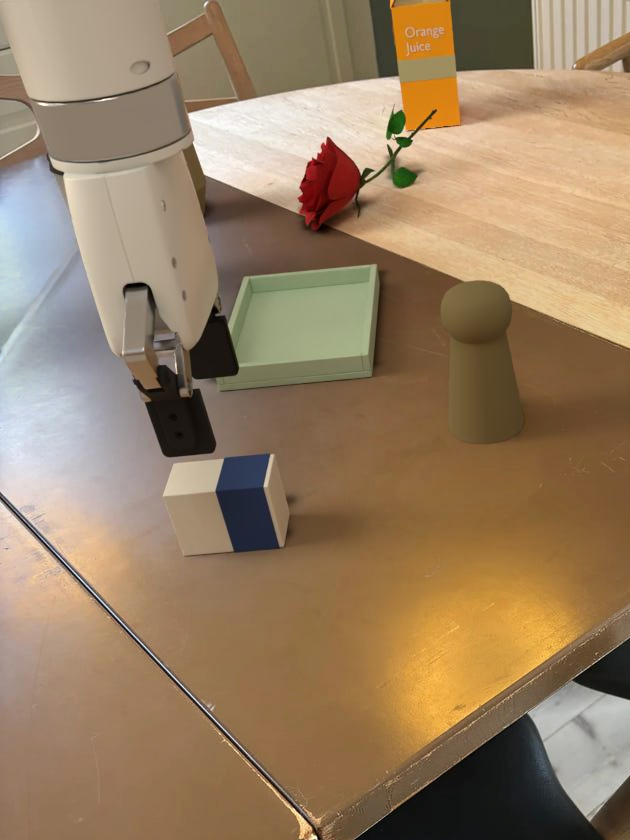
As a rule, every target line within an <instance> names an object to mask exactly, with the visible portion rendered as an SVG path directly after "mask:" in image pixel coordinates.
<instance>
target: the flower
mask: <svg viewBox="0 0 630 840" xmlns="http://www.w3.org/2000/svg"><path fill="white" fill-rule="evenodd" d="M395 105H396V103H393V107H392V109H391V112H390V116H389V119H388V123H387V128H386V132H385V139H386V140H387V141H390V140H393V141H396V144H397V145H399V146H397V148H396V149H395V150H394V151H393V148H392V147H391V146H390V144H389V143H387V144H386V147H387V152H388V155H389V160H388V161H387V163H386V164H385V165H384V166H383V167H382V168H380V170H379V171H377V172H376V170H375V169H373V168H370V167H364V169H363V171H362V173H361V171H360V169H359V167H358V166H357V163H356V162H355V161H354V159H352V158H351V157H350V155H348V154H347V153H346V152H345V151H344V150H342V148H340V147H339V146H338V145H337V144H336V143H335V141H333V140H332V138H331V137H330V136H326V139H325V142H322V143H320V150H321V151H320V152H317V154H316V158H314V157H313V156H312V157H311V160H309V161H308V162H307V164H306V166H305V171H304V175H303V178H302V180H301V182H300V185H299V187H298V189H299V190H300V192H301V193H302V194H301V195H299V196H297V197H296V199H297V200H298V203H301V204H302V205H301V208H300V209H299V211H298V214H299V215H305V224H306V227H308V226H309V225H310V224H311V222H312V224H311V226H310V227H311V230H313V231H317V230H318V229H319V228H320V227H321V226H322V224H323V223H324V222H325V221H326V220H328V219H330V218H332V217H333V216H334V215H336V214H338V213H339V212H340V211H341V210H343V209H344V208H345V207H346V206H348V204H349V203H350V202H351V201H352V200H353V198H354V202H355V206H356V207H357V210H358V211H357V218H359V216H360V214H361V209H362V205H361V204H360V202H359V199H358V198H359V195H360V190H361V189H362V188H364V186H365V185H366V184H368V183H370V182H372V181H374V180H375V179H376V178H377V177H379V176H380V175H382V173H384V171H386V170H387V168H388V167H389V166H390V169H391V170H390V172H391V177H392V179H391V180H392V184H393V185H394V186H395V187H397V188H399V189H401V188H400V187H402V188H405V187H404V186H407V187H409V186H408V185H410V186H412V185H413V184H414V183H415V181H416V180H417V178H418V177H419V175H418V174H417V173H415V172H413V171H412V170H410V169H408V168H407V167H404V166H400V167H398V168H397V169H396V170H395V167H396V166H395V163H396V158H397V156H398V154H400V152H401V150H402V149H406V148H409V147H411V145H412V144H413V142H414V139H413V138H414V136H416V135H417V134H418V132H419V131H421V130H420V129H421V128H422V127H423V125H424V124H425V123H426V122H427V121H428V120H429V119H432V118H431V117H432V116H433V115H434V114H435V113H436V112H437V109H435V110H434V111H433V110H432V112H431V114H430V115H429V116H428V117H427V118H426V119H425V120H424V121H423V122H422V123H421V124H420V125H419V127H418V128H417V129H416V130H414V131H412V132H411V134H410V135H409V136H408V137H406V136H398V135H401V134H402V133H403V131H404V129H405V123H406V117H405V114H404V111H403V108H401V109H400V110H398V111H396V112H395V113H394V111H395ZM396 135H397V136H396ZM392 136H393V137H394V138H393V137H392ZM375 172H376V173H375ZM372 173H375V174H373V175H372V176H371V177H370V178H368V179H366V178H367V177H368V176H369V175H370V174H372ZM411 184H412V185H411Z"/></svg>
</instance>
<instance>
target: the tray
mask: <svg viewBox="0 0 630 840" xmlns="http://www.w3.org/2000/svg"><path fill="white" fill-rule="evenodd" d="M380 287H381V283H380V276H379V269H378V264H377V263H373V264H363V265H352V266H342V267H331V268H321V269H311V270H302V271H301V270H300V271H290V272H281V273H280V272H279V273H270V274H260V275H247V276H243V279H242V281H241V284H240V287H239V291H238V294H237V297H236V299H235V302H234V306H233V309H232V312H231V315H230V318H229V321H228V327H229V331H230V334H231V338H232V342H233V345H234V349H235V353H236V356H237V360H238V364H239V371H238V374H237V375H236V376H229V377H219V378H215V380H216V384H217V387H218V390H219V392H224V391H225V392H226V391H236V390H246V389H257V388H269V387H280V386H288V385H300V384H310V383H311V384H312V383H320V382H321V383H322V382H332V381H341V380H342V381H343V380H353V379H364V378H373V370H374V358H375V346H376V334H377V323H378V312H379V311H378V310H379V301H380V300H379V299H380V298H379V297H380Z"/></svg>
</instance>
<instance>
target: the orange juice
mask: <svg viewBox="0 0 630 840" xmlns="http://www.w3.org/2000/svg"><path fill="white" fill-rule="evenodd" d="M451 4H452V3H451V0H389V9H390V10H391V20H392V30H393V36H392V37H393V40H394V41H393V42H394V45H395V51H396V61H397V70H398V71H397V72H398V79H399V85H400V92H401V93H400V94H401V101H402V110H403V112H404V114H405V117H406V123H405V126H404V128H405V131H406V130H414V131H415V129H417V128H418V127H419V125H420V124H421V123H422V122H423V121H424V120H425V119H426V118H427V117H428V116H429V115H430V114H431V112H432V110H433V111H434V110H435V109H437V112H436V113H435V114H434V115H433V116H432V117H431V118H432V119H429V120H428V121H427V122H426V123H425V124H424V125H423V127H422V128H421V129H423V130H425V129H424V128H433V127H442V128H444V127H443V126H451V127H453V126H452V125H461V112H460V100H459V91H458V80H457V79H458V78H457V62H456V54H455V41H454V30H453V26H454V25H453V20H452V19H453V16H452V11H451V9H452V8H451ZM433 129H434V128H433Z"/></svg>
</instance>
